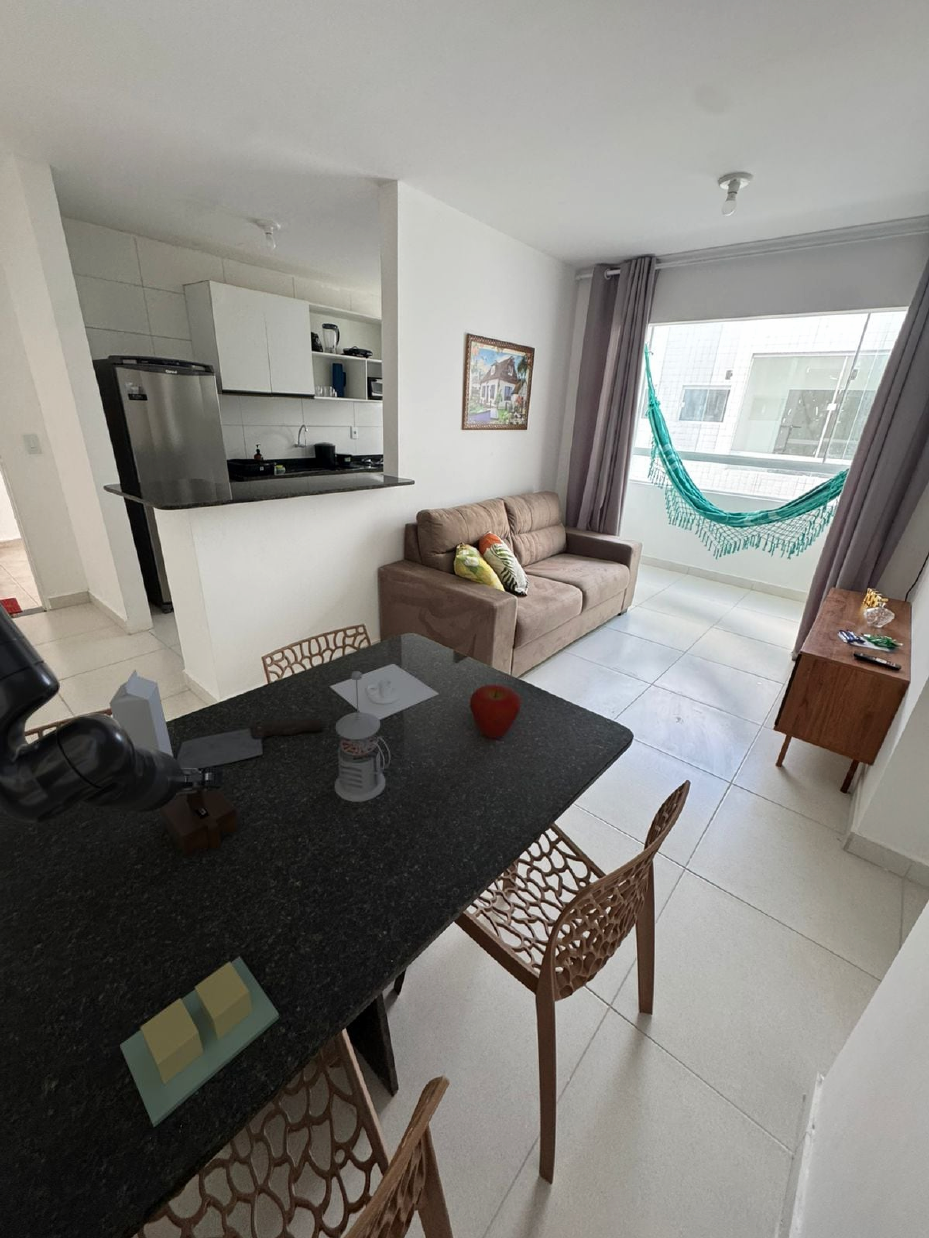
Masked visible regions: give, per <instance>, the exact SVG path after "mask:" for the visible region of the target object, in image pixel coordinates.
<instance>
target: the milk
mask: <svg viewBox="0 0 929 1238" xmlns="http://www.w3.org/2000/svg"><path fill="white" fill-rule="evenodd" d="M109 707H110V711H111V714H112V717H113V718H114V719H115V720H117V721H118V722H119V723H120V724H121V725H122V726H123V727H124V729H125V730H126V732H127V733H128V735H129V737H130V739H131V741H132V743H133V744H134V745H142V746H147V747H150V748H153V749H156V750H159V751H161V752H164V753H167V754H169V755H171V756H172V757H174V754H173V750H172V744H171V741H170V736H169V731H168V727H167V722H166V719H165V713H164V709H163V703H162V699H161V695H160V689H159V685H158V682H156V681H153V680H151V679H148V678H145V677H143V676H139V675H138V673H137V669H133V671H132V673H131V674H130V676H129V678H128V679H127V681H125V682H124V683H122V684H121V685H120V686H119V687H118V689H117V690H116V692H115V694H114V695H113V697H112V698H111V700H110V701H109Z"/></svg>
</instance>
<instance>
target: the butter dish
mask: <svg viewBox="0 0 929 1238" xmlns="http://www.w3.org/2000/svg"><path fill="white" fill-rule="evenodd" d="M279 1019H280V1014H279V1012H278V1010H277V1009H276V1008H275V1006H274V1004H273V1003H272V1001H271V999H270V998H269V997H268V996H267V994H266V993H265V991H264V990H263V988H262V987H261V985H260V984H259V983H258V981H257V979H256V977H254V975H253V974H252V972H251V970H250V969H249V967H248V966H247V964H245V962H244V961H243V959H242V957H241V956H238V957H236V958H235V959H234V960H233V961H227V962H226V963H225V964H223V965H222V966H221V967H220V968H218V969H216V971H214V972H213V973H211V974H210V975H209V976H207V977H206V978H204V979H203V980H202V981H201V982H199V983H198V984H197V985H195V986H194V989H193V990H192V991H190V992H189V993H188V994H186V995H185V996H184V997H182V998H180V997H179V998H178V999H176V1000H175V1001H173V1002H172V1003H171V1004H169V1005H168V1006H167V1007H166V1008H164V1009H163V1010H162V1011H160V1012H158V1013H157V1014H156V1015H154V1016H153V1017H152V1018H150V1019H149V1020H148V1021H147V1022H145V1023H144V1024H142V1025H141V1026H140V1028H139V1030H137V1032H135V1033H134V1034H133V1035H131V1036H130V1037H129V1038H127V1039H126V1040H125V1041H123V1042H122V1043H120V1044H119V1047H120V1050H121V1052H122V1055H123V1057H124V1059H125V1062H126V1064H127V1066H128V1069H129V1072H130V1074H131V1076H132V1079H133V1081H134V1083H135V1085H136V1088H137V1090H138V1093H139V1095H140V1098H141V1100H142V1102H143V1105H144V1107H145V1110H146V1112H147V1115H148V1117H149V1119H150V1122H151V1124H152V1127H153V1128H155V1127H157V1126H158V1125H159V1124H160V1123H161V1122H163V1121H164V1120H165V1119H166V1118H167V1117H169V1115H171V1113H173V1112H174V1111H175V1110H176V1109H177V1108H178V1107H180V1106H181V1105H182V1104H183V1103H184V1102H185V1101H186V1100H188V1099H189V1098H190V1097H192V1095H193V1094H195V1093H196V1091H198V1090H199V1089H201V1087H202V1086H203V1085H204V1084H206V1083H207V1082H208V1081H209V1080H210V1079H212V1077H214V1076H215V1075H217V1073H218V1072H220V1071H221V1069H223V1068H224V1067H225V1066H227V1065H228V1063H230V1062H231V1061H232V1060H233V1059H234V1058H235V1057H237V1056H238V1055H239V1054H240V1053H241V1052H242V1051H244V1049H245V1048H247V1047H248V1046H249V1045H250V1044H251V1043H253V1042H254V1041H255V1040H256V1039H257V1038H258V1037H260V1035H262V1034H263V1033H264V1032H265V1031H266V1030H267V1029H268V1028H270V1027H271V1026H272V1025H273V1024H274V1023H276V1022H277V1020H279Z"/></svg>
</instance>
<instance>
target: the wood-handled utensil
mask: <svg viewBox="0 0 929 1238" xmlns="http://www.w3.org/2000/svg"><path fill="white" fill-rule="evenodd" d="M199 769H200V768H199ZM199 769H198V771H199V772H200V770H199ZM197 784H198V786H201V782H198V783H197ZM184 789H187V788H184ZM187 799H188V803H189V808H190V809H191V810H194V811H195V812H196V813H197V815H198V816H199V817H200V818H201V820H202V819H204V818H205V817H207V816H206V812H205V811H204V810H203V807H204V805H205V798H204V793H203V790H197V792H196V793H193V794H187Z"/></svg>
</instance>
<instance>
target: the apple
mask: <svg viewBox="0 0 929 1238" xmlns="http://www.w3.org/2000/svg"><path fill="white" fill-rule="evenodd" d="M521 703H522V701H521V698H520V696H519V694H518V693H517V692H515V691H514V690H513V689H511V688H510V687H507V686H504V685H500V684H485V685H482V686H480V687H479V688H478V689H476V690H475V691H474V692H473V693H472V694H471V697H470V701H469V708H470V711H471V713H472V716H473V719H474V721H475V723H476V724H475V725H476V726H477V728H478V732H480V733H481V734H482V735H484V736H485V737H486V738H489V739H498V738H500V737H502V736H505V734H506V733H508V732H509V729H511V727H512V725H513V724H514V722H515V721H516V719H517V717H518V716H519V714H520V711H521Z"/></svg>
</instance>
